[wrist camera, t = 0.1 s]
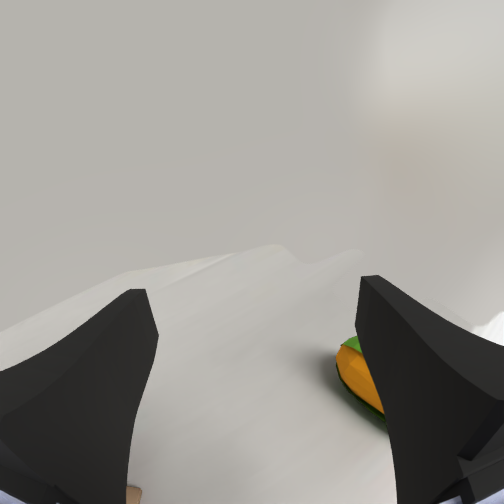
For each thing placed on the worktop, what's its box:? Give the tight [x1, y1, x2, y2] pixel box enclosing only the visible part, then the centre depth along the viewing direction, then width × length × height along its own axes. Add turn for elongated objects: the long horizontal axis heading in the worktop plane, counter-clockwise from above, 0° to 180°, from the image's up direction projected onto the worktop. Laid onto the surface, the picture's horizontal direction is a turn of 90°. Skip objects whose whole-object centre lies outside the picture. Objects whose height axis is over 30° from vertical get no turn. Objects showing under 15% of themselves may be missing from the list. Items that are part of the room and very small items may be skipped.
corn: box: [336, 336, 386, 423], centre depth 27 cm, size 7×8×20 cm
